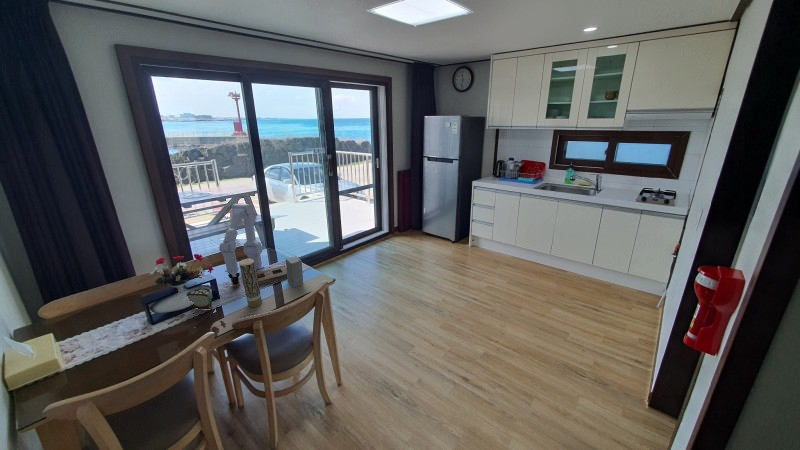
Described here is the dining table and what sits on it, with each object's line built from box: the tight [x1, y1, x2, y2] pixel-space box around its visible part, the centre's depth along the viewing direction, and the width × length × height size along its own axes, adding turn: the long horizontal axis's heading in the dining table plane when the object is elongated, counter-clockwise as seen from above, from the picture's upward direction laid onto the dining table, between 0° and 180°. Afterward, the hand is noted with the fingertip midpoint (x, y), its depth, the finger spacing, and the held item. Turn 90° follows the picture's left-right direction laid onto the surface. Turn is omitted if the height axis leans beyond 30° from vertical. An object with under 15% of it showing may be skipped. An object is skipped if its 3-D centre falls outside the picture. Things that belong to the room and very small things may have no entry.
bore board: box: [256, 264, 287, 287], centre depth 187 cm, size 12×22×3 cm, turn 123°
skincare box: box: [285, 255, 304, 288], centre depth 179 cm, size 8×7×16 cm
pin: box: [230, 277, 241, 288], centre depth 178 cm, size 4×4×8 cm
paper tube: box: [238, 258, 263, 308], centre depth 158 cm, size 7×7×25 cm
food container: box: [185, 287, 213, 310], centre depth 158 cm, size 12×6×10 cm, turn 84°
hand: (235, 282), depth 179 cm, fingers closed on pin, 4 cm apart
